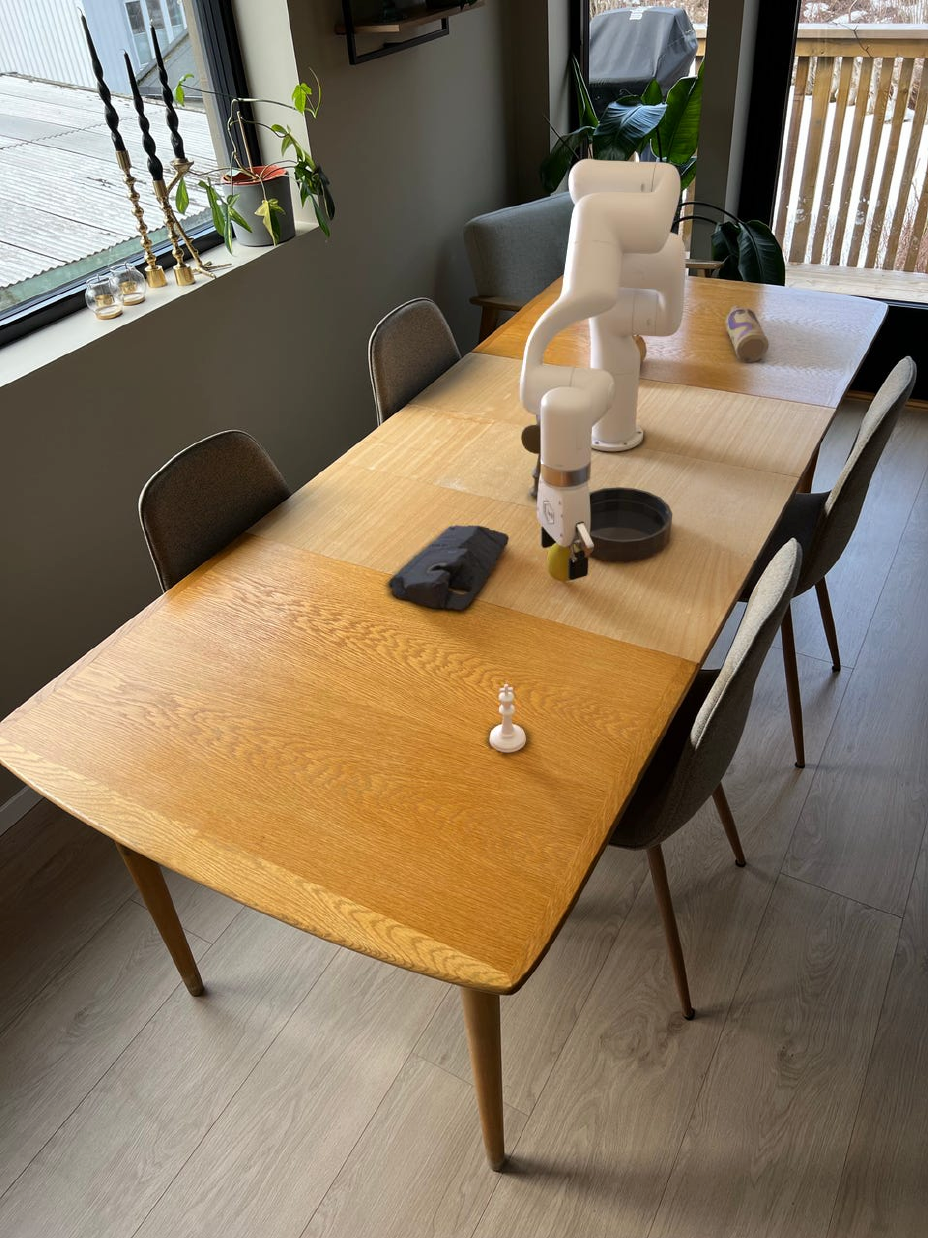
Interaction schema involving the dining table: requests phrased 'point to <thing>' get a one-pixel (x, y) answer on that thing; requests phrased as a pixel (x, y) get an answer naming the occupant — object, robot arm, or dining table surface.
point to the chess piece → (507, 725)
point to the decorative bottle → (746, 334)
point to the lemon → (559, 562)
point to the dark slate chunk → (450, 567)
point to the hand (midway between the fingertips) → (564, 560)
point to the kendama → (533, 450)
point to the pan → (627, 524)
